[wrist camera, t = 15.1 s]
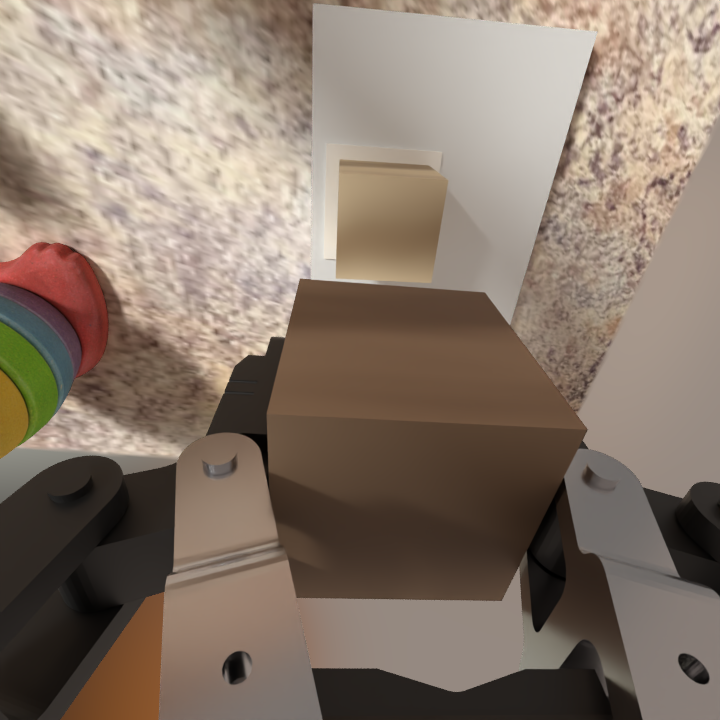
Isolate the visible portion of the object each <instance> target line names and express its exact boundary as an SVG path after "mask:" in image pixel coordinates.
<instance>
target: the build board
mask: <svg viewBox="0 0 720 720" xmlns="http://www.w3.org/2000/svg"><path fill="white" fill-rule="evenodd" d="M596 35H597V31H587V30H577V29H567V28H557V27H547V26H537V25H527V24H517V23H507V22H497V21H487V20H477V19H467V18H457V17H447V16H437V15H427V14H417V13H407V12H397V11H387V10H377V9H367V8H357V7H347V6H337V5H327V4H317V3H313V46H312V181H311V280H325V281H338V282H352V283H365V284H379V285H392V286H406V287H419V288H433V289H446V290H460V291H473V292H485V293H486V294H487V296H488V297H489V298H490V300H491V301H492V302H493V304H494V305H495V306H496V308H497V309H498V310H499V312H500V313H501V314H502V316H503V317H504V318H505V320H506V321H507V322H508V324H509V325H510V324H511V320H512V317H513V314H514V310H515V307H516V304H517V300H518V297H519V293H520V290H521V287H522V283H523V280H524V277H525V273H526V270H527V267H528V263H529V260H530V257H531V253H532V250H533V247H534V243H535V240H536V236H537V233H538V230H539V226H540V223H541V220H542V216H543V213H544V210H545V206H546V203H547V200H548V196H549V193H550V190H551V186H552V183H553V179H554V176H555V173H556V169H557V166H558V163H559V159H560V156H561V153H562V149H563V146H564V143H565V139H566V136H567V133H568V129H569V126H570V122H571V119H572V116H573V112H574V109H575V106H576V102H577V99H578V96H579V92H580V89H581V86H582V82H583V79H584V75H585V72H586V69H587V65H588V62H589V59H590V55H591V52H592V49H593V45H594V42H595V39H596ZM340 159H343V160H357V161H372V162H387V163H402V164H416V165H429V166H430V167H432V168H433V169H434V170H436V171H437V172H438V173H440V174H441V175H442V176H444V177H445V178H446V179H448V186H447V192H446V198H445V204H444V210H443V216H442V222H441V228H440V234H439V240H438V246H437V252H436V258H435V264H434V270H433V276H432V282H431V283H418V282H397V281H377V280H356V279H336V244H337V216H338V188H339V160H340Z"/></svg>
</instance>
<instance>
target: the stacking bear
mask: <svg viewBox="0 0 720 720" xmlns="http://www.w3.org/2000/svg"><path fill="white" fill-rule="evenodd" d="M107 337H108V313H107V308H106V303H105V299H104V296H103V293H102V290H101V287H100V285H99V282H98V280H97V278H96V276H95V274H94V272H93V270H92V268H91V267H90V265H89V264H88V262H87V261H86V260H85V258H84V257H83V256H81V255H80V254H79V253H76V252H73V251H72V250H71V249H70V248H68V247H67V246H65V245H63V244H60V243H54V244H49V243H43V242H40V243H36V244H34V245H32V246H31V247H30V248H28V249H27V250H26V251H25V252H24V253H23V254H22V256H20V257H19V258H17V259H15V260H12V261H9V262H1V263H0V459H1V458H2V457H4V456H5V455H6V454H8V453H9V452H10V451H12V450H13V449H14V448H16V447H17V446H19V445H21V444H22V443H24V442H25V441H27V440H28V439H29V438H31V437H32V436H33V435H34V434H35V433H36V432H38V431H39V430H40V429H41V428H42V427H43V426H44V425H46V424H47V423H48V422H49V420H50V419H51V418H52V417H53V416H54V415H55V414H56V412H57V411H58V410H59V408H60V407H61V405H62V404H63V402H64V400H65V399H66V397H67V395H68V393H69V391H70V389H71V386H72V383H73V381H74V379H75V378H77V377H79V376H81V375H83V374H85V373H86V372H88V371H90V370H91V369H92V368H93V367H94V366H95V365H96V364H97V363H98V362H99V361H100V359H101V357H102V355H103V353H104V350H105V347H106V343H107Z"/></svg>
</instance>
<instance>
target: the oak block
mask: <svg viewBox="0 0 720 720" xmlns="http://www.w3.org/2000/svg"><path fill="white" fill-rule="evenodd" d="M447 186H448V179H446V178H445V177H444V176H442V175H441V174H440V173H438V172H437V171H436V170H434V169H433V168H432V167H430V166H429V165H416V164H402V163H387V162H372V161H357V160H343V159H340V160H339V188H338V216H337V244H336V279H356V280H377V281H397V282H418V283H431V282H432V276H433V270H434V264H435V258H436V252H437V246H438V240H439V234H440V228H441V222H442V216H443V210H444V204H445V198H446V192H447Z"/></svg>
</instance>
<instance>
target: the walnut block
mask: <svg viewBox="0 0 720 720" xmlns="http://www.w3.org/2000/svg"><path fill="white" fill-rule="evenodd" d="M586 432H587V428H586V427H585V425H584V424H583V423H582V421H581V420H580V419H579V417H578V416H577V415H576V413H575V412H574V411H573V409H572V408H571V407H570V405H569V404H568V403H567V401H566V400H565V399H564V397H563V396H562V395H561V393H560V392H559V391H558V389H557V388H556V387H555V385H554V384H553V383H552V381H551V380H550V379H549V377H548V376H547V375H546V373H545V372H544V371H543V369H542V368H541V367H540V365H539V364H538V363H537V361H536V360H535V359H534V357H533V356H532V355H531V353H530V352H529V351H528V349H527V348H526V347H525V345H524V344H523V343H522V341H521V340H520V338H519V337H518V336H517V334H516V333H515V332H514V330H513V329H512V328H511V326H510V325H509V324H508V322H507V321H506V320H505V318H504V317H503V316H502V314H501V313H500V312H499V310H498V309H497V308H496V306H495V305H494V304H493V302H492V301H491V300H490V298H489V297H488V296H487V294H486V293H485V292H473V291H460V290H446V289H433V288H419V287H406V286H392V285H379V284H365V283H352V282H338V281H325V280H311V279H300V281H299V285H298V289H297V293H296V297H295V301H294V305H293V309H292V313H291V317H290V321H289V325H288V330H287V334H286V338H285V342H284V346H283V350H282V354H281V358H280V362H279V366H278V370H277V374H276V378H275V382H274V386H273V390H272V394H271V398H270V402H269V406H268V410H267V439H268V467H269V494H270V499H271V504H272V509H273V514H274V519H275V524H276V529H277V534H278V538H279V542H280V545H283V546H284V548H285V550H286V554H287V557H288V562H289V566H290V571H291V575H292V580H293V585H294V589H295V594H296V598H348V599H415V600H482V601H483V600H486V601H502V599H503V597H504V595H505V593H506V591H507V589H508V587H509V585H510V583H511V580H512V579H513V577H514V575H515V573H516V571H517V569H518V567H519V565H520V563H521V561H522V559H523V557H524V555H525V553H526V551H527V549H528V547H529V545H530V543H531V541H532V539H533V537H534V535H535V533H536V531H537V529H538V527H539V525H540V524H541V522H542V520H543V518H544V516H545V514H546V512H547V510H548V508H549V506H550V504H551V502H552V500H553V498H554V496H555V494H556V492H557V490H558V488H559V486H560V484H561V482H562V480H563V478H564V476H565V474H566V472H567V470H568V468H569V466H570V464H571V462H572V460H573V458H574V456H575V454H576V452H577V450H578V448H579V446H580V444H581V442H582V440H583V438H584V436H585V434H586Z"/></svg>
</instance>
